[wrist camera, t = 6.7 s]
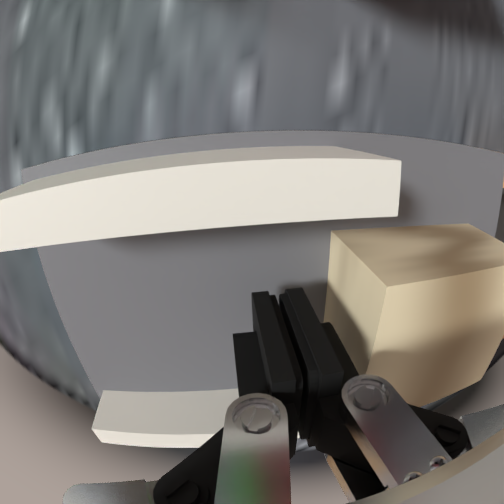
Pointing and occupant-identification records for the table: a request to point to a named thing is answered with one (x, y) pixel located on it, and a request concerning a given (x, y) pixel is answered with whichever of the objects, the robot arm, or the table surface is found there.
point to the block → (418, 305)
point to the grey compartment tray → (216, 250)
